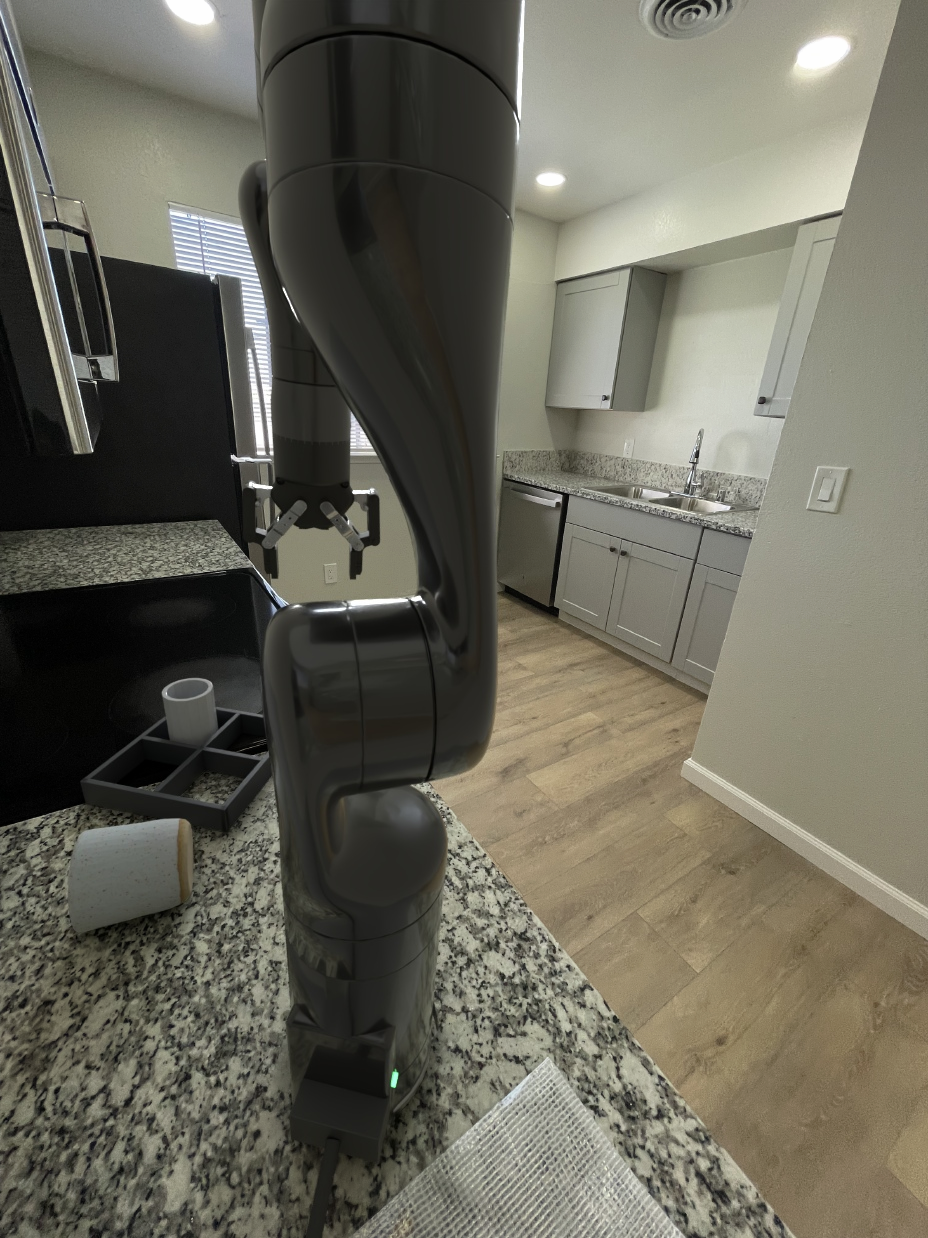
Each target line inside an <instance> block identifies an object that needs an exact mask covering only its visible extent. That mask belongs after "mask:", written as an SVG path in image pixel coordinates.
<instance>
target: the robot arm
mask: <svg viewBox="0 0 928 1238" xmlns="http://www.w3.org/2000/svg"><path fill="white" fill-rule="evenodd" d="M525 3H526V2H525V0H251V14H252V15H251V17H252V33H253V36H252V37H253V49H254V50H253V51H254V66H255V68H254V69H255V85H256V103H257V117H258V124H259V130H260V134H261V137H262V140H263V143H264V153H265V154H264V155H265V159H256V160H254V161H252V162H250V163H249V164H248V166H246V168H245V169H244V171H243V173H242V175H241V177H240V181H239V184H238V191H237V204H238V205H237V206H238V211H239V212H238V213H239V217H240V222H241V226H242V228H243V232H244V235H245V238H246V242H247V245H248V247H249V252H250V254H251V257H252V261H253V263H254V267H255V270H256V273H257V277H258V282H259V284H260V289H261V292H262V296H263V300H264V305H265V311H266V316H267V317H266V318H267V323H268V333H269V334H268V336H269V344H270V345H269V348H270V349H269V350H270V369H271V391H270V415H271V416H270V422H271V435H272V436H271V437H272V454H273V470H274V471H273V472H274V482H273V484H272V485H263V484H257V483H256V482H255V481H254V480H247V481H246V482H245V483H244V485H243V488H242V492H241V500H242V501H241V503H242V508H241V509H242V539H243V541H244V542H245V543H247V544H253V543H254V544H257V545H259V546H260V547H261V548H262V556H263V557H262V558H263V570H264V572H265V574H266V575H270V578H271V580H279V576H280V564H279V545H278V542H279V541H280V539H281V538H282V537H283V536H285V535H286V534H287V533H288V531H289V530H290V529H291V528H292V526H294V527H296V528H298V530H309V529H316V530H322V531H329V530H330V529H331V528H333V527H334V528H335V529H336V530H337V531H338V532H339V534H340V535H341V536H342V538H344V539H346V541H347V542H348V543H349V544H348V545H349V547H348V549H349V550H348V551H349V553H348V576H349V580H350V581H351V580H352V581H353V580H355V581H356V580H357V576H361V575H362V573H363V562H364V561H363V557H364V550H365V549H366V548H368V547H371V546H372V547H378V546H379V545H380V543H381V502H380V500H381V499H380V496H379V493H378V490H377V489H376V488H375V487H369V488H367V490H353V488H352V486H351V440H352V439H351V437H352V436H351V435H352V434H351V433H352V415H353V417H354V419H355V421H356V422H357V424H358V425H359V427H360V428H361V430H362V431H363V433H364V435H365V437H366V438H367V440H368V442H369V444H370V446H371V447H372V449H373V451H374V453H375V454H376V456H377V458H378V460H379V462H380V463H381V466H382V468H383V470H384V471H385V474H386V476H387V478H388V480H389V483H390V485H391V487H392V489H393V491H394V493H395V496H396V498H397V500H398V503H399V506H400V508H401V511H402V513H403V517H404V520H405V522H406V526H407V530H408V532H409V537H410V541H411V547H412V551H413V558H414V565H415V582H416V583H415V584H416V587H415V588H416V589H415V593H414V596H409V597H408V596H406V597H401V596H400V597H382V598H380V597H379V598H359V599H357V598H356V599H343V600H342V599H332V600H316V601H313V600H312V601H301V602H294V603H288V604H286V605H284V606H281V607H280V608H278V609H277V610H276V611H275V612H274V613H273V615H272V616H271V617H270V619H269V620H268V623H267V625H266V627H265V630H264V633H263V636H262V641H261V646H260V653H259V654H260V655H259V691H260V700H261V708H262V715H263V719H264V728H265V734H266V737H265V740H266V747H267V753H269V759H270V765H271V771H272V776H271V778H272V782H273V791H274V798H275V806H276V813H277V823H278V824H277V825H278V836H279V838H278V839H279V840H278V841H279V865H280V885H281V892H282V904H283V918H284V919H283V920H284V936H285V948H286V950H285V951H286V963H287V973H288V974H287V976H288V992H289V1003H290V1004H289V1005H290V1011H289V1013H288V1015H287V1018H286V1022H285V1030H286V1042H287V1054H288V1056H287V1057H288V1067H289V1079H290V1091H291V1104H292V1107H291V1109H290V1111H289V1115H288V1119H289V1127H290V1128H289V1131H290V1139H291V1140H292V1141H296V1142H299V1143H303V1144H306V1145H308V1146H309V1145H310V1146H312V1147H313V1146H314V1147H317V1148H321V1149H323V1153H322V1157H321V1162H320V1168H319V1171H318V1176H317V1181H316V1186H315V1190H314V1193H313V1194H314V1195H313V1199H312V1203H311V1208H310V1212H309V1218H308V1223H307V1228H306V1234H305V1238H323V1236H324V1235H323V1234H324V1230H325V1224H326V1220H327V1213H328V1209H329V1203H330V1198H331V1194H332V1189H333V1183H334V1179H335V1174H336V1169H337V1164H338V1159H339V1154H342V1155H346V1156H349V1157H354V1158H356V1159H361V1160H364V1161H368V1162H371V1163H375V1164H379V1161H380V1159H381V1154H382V1149H383V1145H384V1141H385V1139H386V1138H387V1137H388V1135H389V1133H390V1128H391V1124H392V1121H393V1118H394V1117H395V1116H396V1115H398V1114H399V1113H400V1112H401V1111H402V1110H403V1109H404V1108H405V1107H406V1106H407V1105H408V1104H409V1103H410V1101H412V1099H413V1097H414V1096H415V1094H416V1093H417V1092H418V1090H419V1088H420V1086H421V1084H422V1082H423V1079H424V1077H425V1075H426V1072H427V1069H428V1066H429V1062H430V1056H431V1049H432V1048H431V1047H432V1023H433V1022H434V1026H435V1029H436V1031H438V1023H439V1017H438V1015H437V1009H436V1005H435V1001H434V1000H435V987H436V978H437V977H436V976H437V968H438V967H437V966H438V955H439V944H440V933H441V925H442V924H441V923H442V913H443V903H444V894H445V893H444V892H445V882H446V874H447V863H448V855H449V838H448V831H447V827H446V822H445V820H444V818H443V815H442V814H441V812H440V810H439V809H438V807H437V806H436V804H435V803H434V802H433V801H432V799H430V797H428V795H426V794H425V793H424V792H423V791H422V790H419V789H418V788H417V787H415V786H414V785H420V784H425V783H431V782H436V781H441V780H446V779H450V778H454V777H458V776H460V775H463V774H465V773H467V772H470V771H472V770H473V769H475V768H476V767H477V766H478V765H479V764H480V762H482V760H483V758H484V757H485V755H486V753H487V752H488V749H489V745H490V743H491V740H492V736H493V732H494V726H495V720H496V713H497V704H498V689H499V687H498V686H499V619H498V618H499V616H498V615H499V614H498V611H499V610H498V565H497V564H498V563H497V557H498V555H497V463H498V462H497V459H498V442H499V441H498V438H499V419H500V403H501V387H502V386H501V385H502V374H503V372H502V371H503V359H504V357H503V356H504V345H505V343H504V342H505V331H506V319H507V308H508V300H509V299H508V297H509V289H510V287H509V286H510V278H511V277H510V275H511V265H512V254H513V253H512V252H513V243H514V231H515V218H516V203H517V202H516V201H517V186H518V169H519V155H520V153H519V152H520V139H521V138H520V135H521V115H522V113H521V112H522V86H523V85H522V82H523V80H522V79H523V55H524V53H523V52H524V29H525V27H524V26H525ZM267 499H270V500H272V502H273V503H274V504H275V506H276V507H277V508H278V509H279V512H278V514H277V515H276V517H274V520H273V521H272V523H270V524H269V526H268V527H267V528H266V530H265V529H263V528H260V527H259V525H258V508H261V507H263V506H264V504H265V501H266V500H267ZM355 502H356V503H358V504H359V507H360V510H361V511H363V512H366V530H367V531H364V532H360V531H359V530H358V528H356V526H355V525H354V524H353V522H352V520H351V519H350V518H349V516H348V515H347V512H348V511H349V509H351V508H352V506H353V505H354V503H355ZM433 1020H434V1021H433Z"/></svg>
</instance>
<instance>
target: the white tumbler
mask: <svg viewBox="0 0 928 1238" xmlns="http://www.w3.org/2000/svg"><path fill="white" fill-rule="evenodd" d="M161 698H162V705H163V710H164V717H166V723H167V729H168V735H169V740H170V741H176V742H181V743H187V744H192V745H198V746H202V745H203V744H204V743H205V742H206V741H207V740H208V739H209V738H210V737H211V736H212V735H214V734H215V733H216V732H217V731H218V730H219V729H218V723H217V715H216V707H217V706H216V700H215V699H216V698H215V692H214V685H213V683H212V682H211V681H210V680H208V679H206V678H200V677H189V678H183V679H179V680H176V681H173V682H171V683H169V684H167V685H166V686H165V687H164V688H163V689H162V691H161Z"/></svg>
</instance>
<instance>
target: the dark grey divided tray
mask: <svg viewBox="0 0 928 1238" xmlns="http://www.w3.org/2000/svg"><path fill="white" fill-rule="evenodd" d="M215 707H216V715H217V723H218V731H217V732H216V733H215V734H214V735H212V736H211V737H210V738H209V739H208V740H207V741H206V742H205V743H204V744H203V745H202V746H198V745H192V744H187V743H181V742H176V741H170V740H169V735H168V729H167V723H166V717H165V716H163V717H162V718H161V719H159V720H158V721H156V723H154V724H152V726H150V727H149V728H147V729H146V730H145V731H144V732H142V733H141V734H140V735H139V736H138V737H136V738H135V739H134V740H132V741H131V742H130V743H128V744H127V745H125V747H123V748H122V749H120V750H119V751H118V752H116V753H115V754H114V755H113V756H111V757H109V758H108V759H107V760H106V761H105V762H103V763H102V764H101V765H99V766H98V767H96V769H94V770H93V771H92V772H91V773H89V774H88V775H87V776H85V777H83V778H82V779H81V780H80V781H79V783H80V787H81V790H82V794H83V799H84V802H85V804H86V805H90V806H96V807H99V808H106V809H110V810H114V811H120V812H124V813H131V814H134V815H138V816H139V815H140V816H144V817H150V818H154V819H157V820H160V819H185V820H187V821H188V822H189V823H190V825H191V826H192V827H193V826H194V827H199V828H203V829H208V830H212V831H218V832H223V833H228V832H229V831H230V830H231V829H232V828H233V826H234V825H235V824H236V823H237V821H238V820H239V818H240V817H241V816H242V815H243V813H245V811H246V810H247V809H248V807H249V806H250V805H251V803H252V802H253V801H254V800H255V798H256V797H257V795H258V794H259V793H260V792H261V791H262V789H263V788H264V787H265V786H266V784H267V783H268V782H269V781H270V779H271V778H272V771H271V765H270V759H269V753H268V752H266V754H264V755H263V757H262V756H257V755H251V754H246V753H241V752H235V751H230V750H227V749H228V748H229V747H230V746H231V745H232V744H233V743H234V742H235V741H236V740H237V739H238V738H239V737H240V736H241V735H242V734H246V735H247V734H248V735H253V736H259V737H263V738H266V734H265V728H264V719H263V714H259V713H254V712H247V711H242V710H236V709H231V708H224V707H218V706H215ZM145 760H146V761H152V762H157V763H162V764H163V763H164V764H168V765H173V766H178V767H177V768H176V769H174V771H172V772H171V773H170V774H169V775H168V776H167V777H166V778H165V779H164V780H163V781H162V782H161V783H159V785H157V786H156V787H155V788H154V789H153V790H148V789H143V788H138V787H133V786H128V785H122V784H117V783H119V782H120V781H121V780H122V779H124V778H125V777H126V776H127V775H129V773H131V772H132V771H133V770H134V769H135V768H136V767H138V766H139V765H141V764H142V763H143V762H144V761H145ZM205 771H206V772H209V773H210V772H211V773H216V774H221V775H226V776H233V777H236V778H243V780H242V781H241V783H240V784H239V785H238V786H237V787H236V788H235V790H233V792H232V793H231V794H230V796H229V797H228V798H227V799H226V800H225V801H224V802H223V804H219V803H214V802H209V801H204V800H198V799H194V798H190V797H185V796H184V797H183V796H181V795H183V794H184V792H186V791H187V790H188V789H189V788H190V786H191V785H193V784H194V783H195V781H197V779H198V778H199V777H200V776H201V775H202V774H203V773H204V772H205Z"/></svg>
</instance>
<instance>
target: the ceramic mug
mask: <svg viewBox="0 0 928 1238" xmlns="http://www.w3.org/2000/svg"><path fill="white" fill-rule="evenodd" d="M193 843H194V842H193V830H192V825H190V823H189V822H188V821H187V820H185V819H155V820H148V821H143V822H137V823H130V824H129V823H128V824H121V825H115V826H114V825H113V826H106V827H99V828H91V829H87V830H83V831H82V832H81V833H80V834H79V836H78V837H77V838H76V842H75V843H74V846H73V850H72V854H71V858H70V862H69V867H68V875H67V904H68V905H67V906H68V908H67V909H68V914H69V919H70V924H71V927H72V928H73V930H74V931H75V932H76V933H78V934H79V933H80V934H81V933H86V932H87V933H88V932H90V931H93V930H96V929H97V930H98V929H100V928H104V927H108V926H111V925H116V924H118V923H123V922H126V921H130V920H132V919H136V918H140V917H144V916H147V915H152V914H157V913H160V912H163V911H167V910H170V909H173V908H175V907H177V906H180V905H181V904H184V903H185V902H186V901H187V900H188V899H189V898H190V897H191V895H192V892H193V886H194V884H193V883H194V844H193Z"/></svg>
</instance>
